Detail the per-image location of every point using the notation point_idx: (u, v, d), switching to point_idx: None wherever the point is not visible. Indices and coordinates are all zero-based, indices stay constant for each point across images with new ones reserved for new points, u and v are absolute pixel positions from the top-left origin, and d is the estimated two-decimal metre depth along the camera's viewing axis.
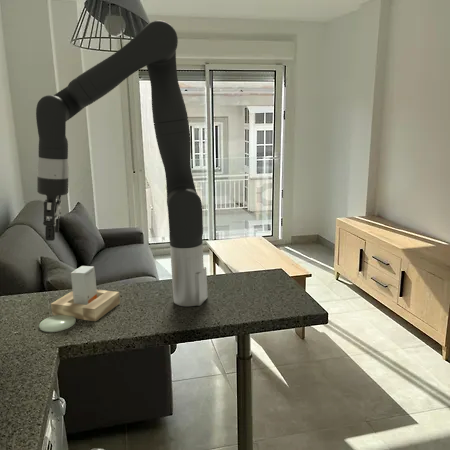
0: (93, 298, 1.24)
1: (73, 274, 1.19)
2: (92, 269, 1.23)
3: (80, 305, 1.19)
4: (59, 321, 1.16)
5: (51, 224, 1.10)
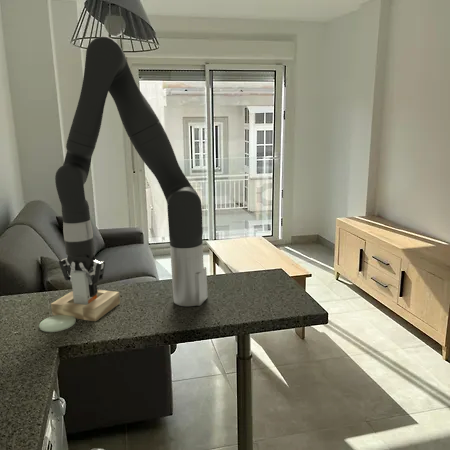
0: (93, 298, 1.24)
1: (73, 274, 1.19)
2: None
3: (80, 305, 1.19)
4: (59, 321, 1.16)
5: (101, 279, 1.21)
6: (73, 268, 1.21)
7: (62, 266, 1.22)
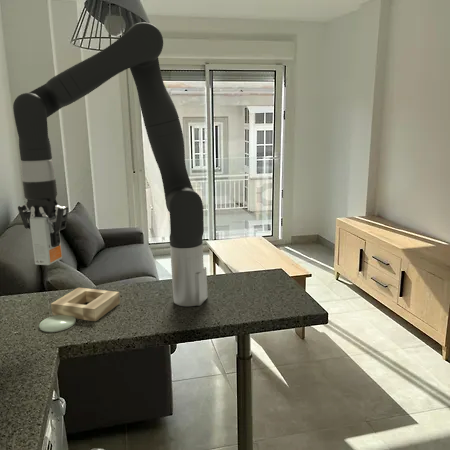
0: (56, 249, 1.12)
1: (32, 220, 1.07)
2: None
3: (80, 305, 1.19)
4: (59, 321, 1.16)
5: (64, 227, 1.09)
6: (33, 214, 1.08)
7: (21, 212, 1.10)
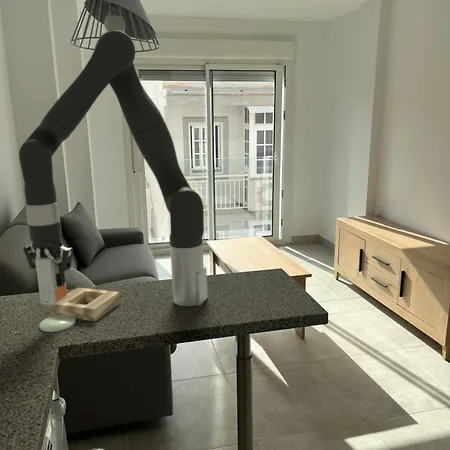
0: (61, 288, 1.14)
1: (38, 261, 1.09)
2: None
3: (80, 305, 1.19)
4: (59, 321, 1.16)
5: (69, 268, 1.11)
6: (38, 255, 1.10)
7: (27, 253, 1.12)
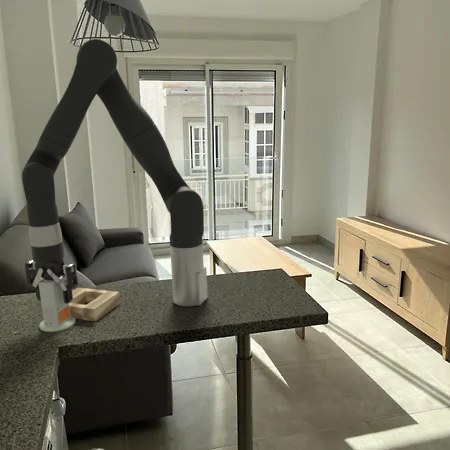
0: (64, 310, 1.15)
1: (41, 284, 1.11)
2: None
3: (80, 305, 1.19)
4: None
5: (76, 285, 1.12)
6: (39, 274, 1.12)
7: (27, 269, 1.13)
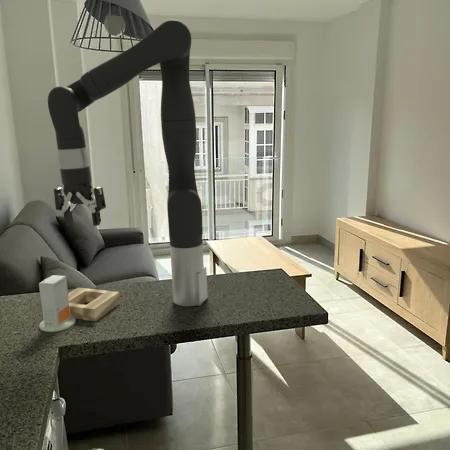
0: (64, 310, 1.15)
1: (41, 284, 1.11)
2: (63, 279, 1.14)
3: (80, 305, 1.19)
4: None
5: (104, 207, 1.17)
6: (68, 198, 1.17)
7: (56, 195, 1.19)
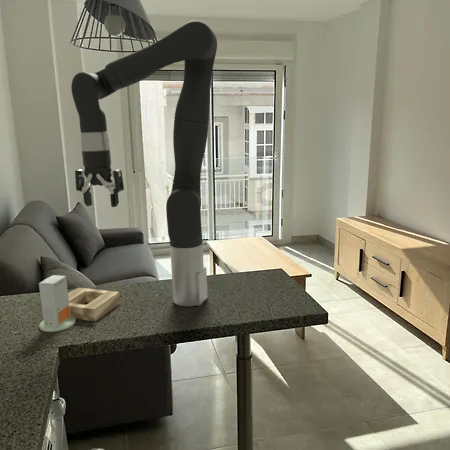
0: (64, 310, 1.15)
1: (41, 284, 1.11)
2: (63, 279, 1.14)
3: (80, 305, 1.19)
4: None
5: (122, 189, 1.23)
6: (89, 180, 1.23)
7: (77, 176, 1.24)
